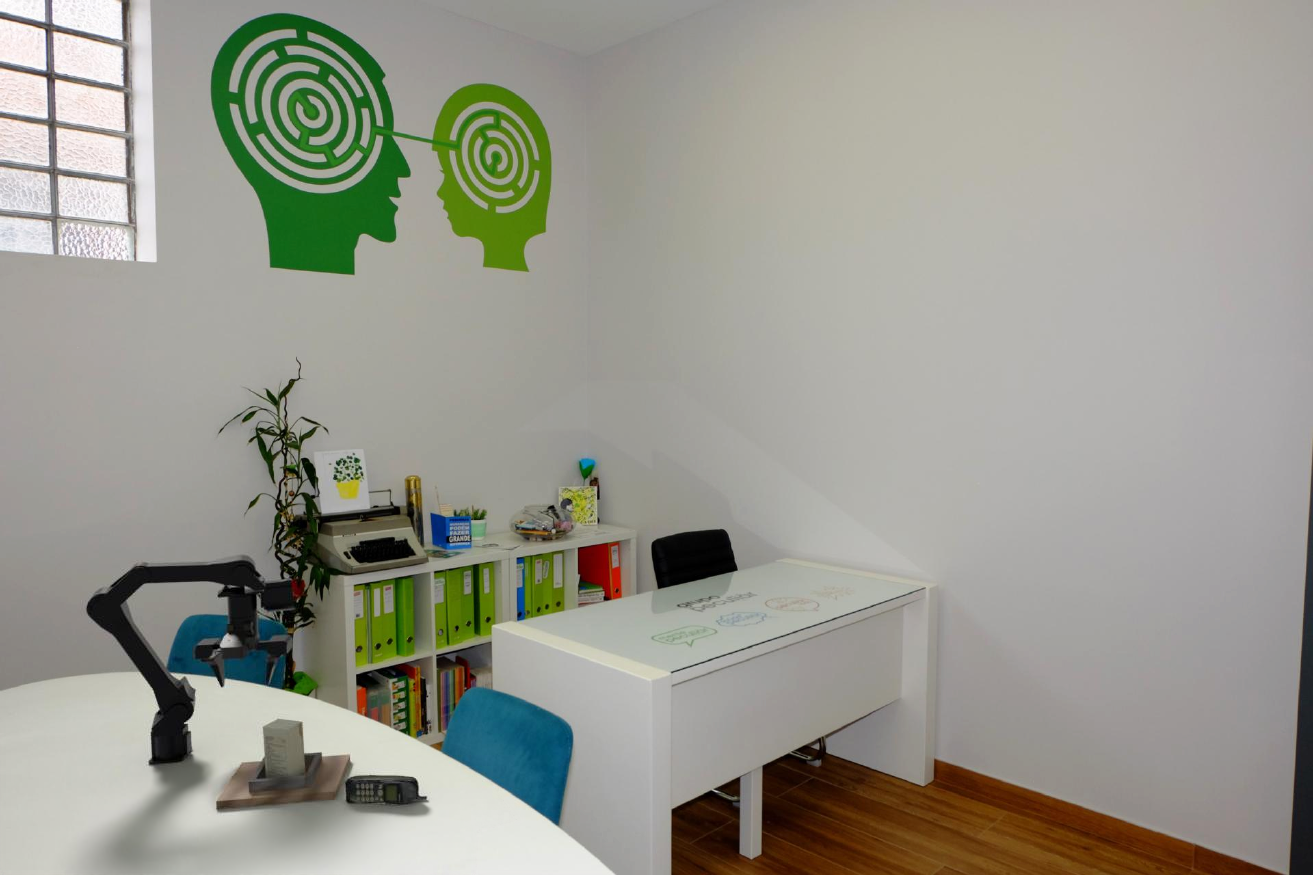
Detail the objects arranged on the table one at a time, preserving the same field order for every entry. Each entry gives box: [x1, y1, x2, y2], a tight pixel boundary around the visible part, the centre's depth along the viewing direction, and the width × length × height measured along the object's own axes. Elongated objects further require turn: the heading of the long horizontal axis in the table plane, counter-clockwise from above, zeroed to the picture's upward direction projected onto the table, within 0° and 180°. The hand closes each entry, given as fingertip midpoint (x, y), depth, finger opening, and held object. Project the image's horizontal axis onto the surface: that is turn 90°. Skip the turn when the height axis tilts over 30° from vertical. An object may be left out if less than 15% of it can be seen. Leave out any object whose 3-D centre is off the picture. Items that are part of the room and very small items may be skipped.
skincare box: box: [262, 718, 307, 778], centre depth 168 cm, size 6×4×12 cm
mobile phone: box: [344, 774, 428, 805], centre depth 162 cm, size 5×3×15 cm
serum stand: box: [215, 751, 351, 810], centre depth 169 cm, size 21×16×4 cm
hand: (245, 685), depth 186 cm, fingers open, 9 cm apart
